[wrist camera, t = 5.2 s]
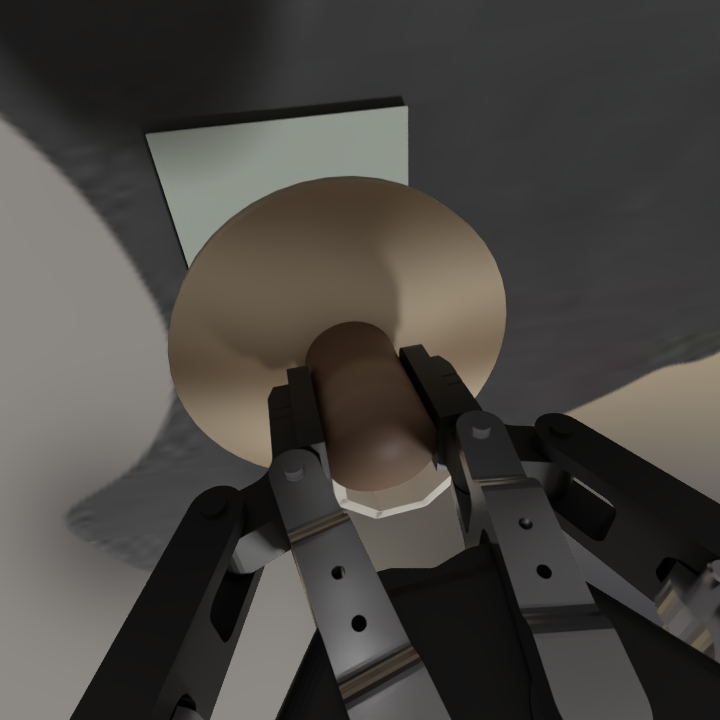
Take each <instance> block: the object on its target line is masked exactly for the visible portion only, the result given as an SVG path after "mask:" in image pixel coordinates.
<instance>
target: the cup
mask: <svg viewBox="0 0 720 720" xmlns="http://www.w3.org/2000/svg"><path fill="white" fill-rule="evenodd" d="M331 482H332V488H333V492H334V495H335V497H336V499H337V501H338V503H339V505H340V507H343V508H346V509H349V510H352V511H355V512H358V513H361V514H364V515H367V516H370V517H373V518H376V519H378V518H382V517H386V516H389V515H393V514H397V513H401V512H405V511H409V510H412V509H417V508H420V507H424V506H427V505H428V504H429V503H430V502H431V501H432V500H434V499H435V498H436V497H437V496H438V495H439V494H440V493H442V492H443V491H444V490H445V489H446V488H447V487H448V486H450V484H451V475H450V473H449V471H448V469H447V470H443V471H439V472H437V471H436V469H435V467H434V464H433V462H432V460H431V461H430V462H429V463H428V465H427V466H426V467H425V468H424V469H423V470H422V471H421V472H419V473H418V474H417V475H416V476H414V477H413V478H411V479H410V480H408V481H406V482H404V483H402V484H400V485H397V486H395V487H392V488H388V489H385V490H379V491H367V492H364V491H355V490H351V489H348V488H345V487H343V486H341V485H339V484H338V483H336V482H335V481H334V480H333V479H332V478H331Z"/></svg>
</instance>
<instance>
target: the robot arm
mask: <svg viewBox="0 0 720 720" xmlns="http://www.w3.org/2000/svg"><path fill="white" fill-rule="evenodd" d="M399 358H400V360H401V362H402V364H403V366H404V368H405V370H406V372H407V374H408V376H409V378H410V379H411V381H412V383H413V385H414V387H415V389H416V391H417V393H418V395H419V397H420V399H421V400H422V402H423V404H424V406H425V408H426V410H427V412H428V414H429V416H430V418H431V420H432V421H433V423H434V425H435V427H436V430H437V434H436V452H435V454H434V456H433V458H432V459H431V460H432V462H433V464H434V467H435V469H436V471H437V472H439V471H443V470H447V469H448V471H449V473H450V475H451V484H450V486H451V491H452V495H453V499H454V503H455V508H456V512H457V516H458V520H459V524H460V528H461V532H462V536H463V540H464V546H465V550H464V551H462V552H461V553H459V554H457V555H455V556H454V557H452V558H450V559H449V560H447V561H446V562H444V563H442V564H440V565H439V566H437V567H434V568H390V569H386V570H382V571H379V572H376V571H375V568H374V566H373V564H372V562H371V560H370V558H369V556H368V554H367V552H366V550H365V547H364V545H363V543H362V541H361V539H360V537H359V535H358V533H357V531H356V529H355V527H354V525H353V523H352V521H351V519H350V517H349V515H348V514H347V513H345V514H344V513H343V511H342V509H341V507H340V505H339V503H338V501H337V499H336V497H335V495H334V492H333V488H332V482H331V476H330V470H329V464H328V458H327V452H326V446H325V441H324V436H323V432H322V427H321V423H320V418H319V413H318V409H317V404H316V400H315V395H314V391H313V386H312V382H311V377H310V373H309V368H308V365H305V366H300V367H294V368H289V369H286V371H287V378H288V384H287V385H282V386H277V387H273V388H272V390H271V392H270V395H269V397H268V411H269V421H270V422H269V424H270V436H271V448H272V463H271V464H270V467H269V470H268V471H267V473H266V474H265V475H264V476H263V477H262V478H261V479H259V480H258V481H257V482H255V483H253V484H252V485H250V486H248V487H246V488H244V489H242V490H240V491H238V490H237V489H235V488H233V487H230V486H217V487H213V488H210V489H208V490H206V491H204V492H203V493H201V494H200V495H199V496H198V497H196V498H195V500H194V501H193V502H192V504H191V505H190V507H189V508H188V510H187V512H186V514H185V516H184V517H183V519H182V521H181V523H180V524H179V526H178V528H177V530H176V532H175V533H174V535H173V537H172V539H171V540H170V542H169V544H168V546H167V548H166V549H165V551H164V553H163V555H162V556H161V558H160V560H159V562H158V564H157V565H156V567H155V569H154V571H153V572H152V574H151V576H150V578H149V580H148V581H147V583H146V585H145V587H144V588H143V590H142V592H141V594H140V596H139V598H138V599H137V601H136V603H135V604H134V606H133V608H132V610H131V612H130V613H129V615H128V617H127V619H126V620H125V622H124V624H123V626H122V628H121V629H120V631H119V633H118V635H117V636H116V638H115V640H114V642H113V643H112V645H111V647H110V649H109V651H108V652H107V654H106V656H105V658H104V660H103V661H102V663H101V665H100V667H99V668H98V670H97V672H96V674H95V675H94V677H93V679H92V681H91V683H90V685H89V686H88V688H87V690H86V691H85V693H84V695H83V697H82V699H81V700H80V702H79V704H78V706H77V707H76V709H75V711H74V713H73V714H72V716H71V718H70V720H210V717H211V715H212V712H213V709H214V706H215V704H216V701H217V697H218V695H219V692H220V690H221V687H222V684H223V681H224V678H225V675H226V673H227V670H228V667H229V664H230V662H231V659H232V656H233V653H234V650H235V648H236V645H237V642H238V639H239V637H240V634H241V631H242V628H243V625H244V622H245V620H246V617H247V614H248V611H249V609H250V606H251V603H252V600H253V597H254V595H255V592H256V589H257V586H258V583H259V581H260V577H261V575H262V572H263V569H264V566H265V565H266V564H267V563H269V562H270V561H272V560H274V559H275V558H277V557H279V556H281V555H282V554H284V553H285V552H287V551H289V550H290V549H291V551H292V555H293V557H294V561H295V564H296V567H297V570H298V573H299V576H300V579H301V582H302V585H303V588H304V591H305V594H306V597H307V600H308V603H309V607H310V610H311V613H312V616H313V619H314V623H315V626H316V631H315V633H314V635H313V637H312V640H311V642H310V644H309V646H308V648H307V650H306V653H305V655H304V657H303V659H302V661H301V664H300V666H299V668H298V671H297V672H296V675H295V677H294V679H293V681H292V684H291V686H290V688H289V690H288V693H287V695H286V697H285V699H284V701H283V703H282V706H281V708H280V710H279V712H278V714H277V717H276V719H275V720H720V504H719V503H717V502H716V501H714V500H712V499H710V498H708V497H707V496H705V495H704V494H702V493H700V492H698V491H697V490H695V489H693V488H691V487H690V486H688V485H686V484H685V483H683V482H681V481H680V480H678V479H676V478H674V477H673V476H671V475H670V474H668V473H666V472H664V471H663V470H661V469H659V468H658V467H656V466H654V465H653V464H651V463H649V462H647V461H646V460H644V459H642V458H641V457H639V456H637V455H635V454H634V453H632V452H630V451H629V450H627V449H625V448H623V447H622V446H620V445H618V444H617V443H615V442H613V441H612V440H610V439H608V438H607V437H605V436H603V435H602V434H600V433H598V432H596V431H595V430H593V429H591V428H590V427H588V426H586V425H584V424H583V423H581V422H579V421H577V420H576V419H574V418H572V417H570V416H567V415H564V414H559V413H549V414H545V415H542V416H540V417H539V418H538V419H537V420H536V422H535V426H513V425H506V424H504V423H503V422H502V421H501V419H499V418H498V417H497V416H495V415H494V414H492V413H489V412H486V411H483V410H482V408H481V407H480V405H479V404H478V403H477V401H476V400H475V398H474V397H473V395H472V394H471V392H470V391H469V389H468V388H467V386H466V385H465V383H463V381H462V379H461V378H460V376H459V375H457V372H456V370H455V369H454V367H453V366H452V364H451V363H450V362H448V361H447V360H445V359H444V358H442V357H441V356H439V355H437V356H432V357H430V356H429V354H428V353H427V351H426V350H425V348H424V346H423V345H422V344H417V345H412V346H407V347H401V348H400V349H399ZM574 477H575V478H577V479H578V480H580V481H581V482H583V483H584V484H585V485H587V486H589V487H590V488H591V489H593V490H594V491H596V492H597V493H599V494H600V495H602V496H603V497H605V498H606V499H607V500H608V501H609V502H610V503H611V504H612V505H613V506H614V508H613V507H612V506H610V505H609V504H607V503H606V502H605V501H603V500H602V499H600V498H599V497H597V496H596V495H595V494H593V493H591V492H590V491H589V490H587V489H586V488H584V487H583V486H581V485H580V484H579V483H577V482H576V481H574V480H573V479H574ZM562 530H563V531H565V532H566V533H567V534H569V535H570V536H571V537H572V538H573V539H575V540H576V541H577V542H579V543H580V544H581V545H582V546H583V547H585V548H586V549H587V550H588V551H590V552H591V553H592V554H594V555H595V556H596V557H597V558H599V559H600V560H601V561H602V562H604V563H605V564H606V565H607V566H609V567H610V568H611V569H612V570H614V571H615V572H616V573H617V574H619V575H620V576H621V577H623V578H624V579H625V580H626V581H628V582H629V583H630V584H631V585H633V586H634V587H635V588H636V589H638V590H639V591H640V592H642V593H643V594H644V595H645V596H646V597H648V598H649V599H650V600H651V601H653V602H654V603H655V607H656V610H657V612H658V614H659V616H660V618H661V619H662V625H663V628H664V629H663V628H661V627H660V626H658V625H656V624H655V623H653V622H651V621H650V620H648V619H646V618H645V617H643V616H642V615H640V614H638V613H637V612H635V611H633V610H632V609H630V608H629V607H627V606H625V605H624V604H622V603H620V602H619V601H617V600H615V599H614V598H612V597H611V596H609V595H607V594H606V593H604V592H602V591H601V590H599V589H597V588H596V587H594V586H593V585H591V584H589V583H587V582H586V581H585V580H584V578H583V575H582V573H581V571H580V569H579V567H578V565H577V562H576V560H575V558H574V556H573V553H572V551H571V549H570V547H569V545H568V542H567V540H566V538H565V536H564V534H563V531H562Z"/></svg>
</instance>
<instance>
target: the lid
mask: <svg viewBox="0 0 720 720" xmlns="http://www.w3.org/2000/svg"><path fill="white" fill-rule="evenodd" d="M505 322H506V300H505V292H504V287H503V282H502V278H501V275H500V272H499V270H498V267H497V265H496V262H495V260H494V258H493V256H492V255H491V253H490V251H489V249H488V248H487V246H486V244H485V243H484V242H483V240H482V239H481V238H480V237H479V236H478V234H477V233H476V232H475V231H474V230H473V229H472V227H471V226H469V225H468V224H467V223H466V222H465V221H464V220H462V219H461V218H460V217H459V216H458V215H456V214H455V213H454V212H453V211H451V210H450V209H449V208H447V207H446V206H445V205H443V204H442V203H440V202H438V201H437V200H435V199H433V198H432V197H430V196H429V195H427V194H425V193H424V192H421V191H419V190H416V189H414V188H411V187H409V186H406V185H404V184H401V183H397V182H393V181H389V180H385V179H380V178H373V177H362V176H339V177H325V178H320V179H315V180H310V181H305V182H300V183H297V184H294V185H291V186H289V187H286V188H283V189H280V190H277V191H274V192H272V193H271V194H269V195H267V196H265V197H263V198H261V199H259V200H257V201H255V202H253V203H251V204H250V205H248V206H247V207H245V208H244V209H243V210H241V211H240V212H238V213H237V214H235V215H234V216H233V217H231V218H230V219H229V220H228V221H227V222H226V223H224V224H223V225H222V226H221V227H220V228H219V229H218V230H217V231H216V232H215V233H214V234H213V235H212V236H211V237H210V238H209V239H208V241H207V242H206V243H205V245H204V246H203V247H202V248H201V250H200V251H199V252H198V253H197V255H196V256H195V258H194V260H193V262H192V263H191V265H190V267H189V269H188V270H187V272H186V274H185V276H184V278H183V281H182V284H181V286H180V289H179V292H178V295H177V297H176V301H175V305H174V309H173V313H172V318H171V323H170V329H169V334H168V358H169V365H170V371H171V376H172V379H173V382H174V385H175V388H176V391H177V394H178V396H179V398H180V400H181V402H182V404H183V405H184V407H185V409H186V411H187V412H188V413H189V415H190V416H191V417H192V419H193V420H194V422H195V423H196V424H197V425H198V426H199V427H200V428H201V429H202V430H203V431H204V432H205V433H206V434H207V435H208V436H209V437H210V438H211V439H212V440H214V441H215V442H216V443H218V444H219V445H220V446H222V447H223V448H224V449H226V450H228V451H230V452H231V453H233V454H235V455H237V456H238V457H240V458H243V459H245V460H247V461H250V462H252V463H254V464H257V465H261V466H264V467H267V468H269V467H270V464H271V463H272V448H271V436H270V424H269V422H270V421H269V411H268V397H269V395H270V392H271V390H272V388H273V387H277V386H282V385H287V384H288V378H287V371H286V369H289V368H294V367H300V366H305V365H308V368H309V373H310V377H311V382H312V386H313V391H314V395H315V400H316V404H317V409H318V413H319V418H320V423H321V427H322V432H323V436H324V441H325V446H326V452H327V458H328V464H329V470H330V476H331V478H332V479H333V480H334V481H335V482H336V483H338V484H339V485H341V486H343V487H345V488H348V489H351V490H355V491H364V492H367V491H379V490H385V489H388V488H392V487H395V486H397V485H400V484H402V483H404V482H406V481H408V480H410V479H411V478H413V477H414V476H416V475H417V474H418V473H419V472H421V471H422V470H423V469H424V468H425V467H426V466H427V465H428V463H429V462H430V461H431V459H432V458H433V456H434V454H435V452H436V434H437V430H436V427H435V425H434V423H433V421H432V420H431V418H430V416H429V414H428V412H427V410H426V408H425V406H424V404H423V402H422V400H421V399H420V397H419V395H418V393H417V391H416V389H415V387H414V385H413V383H412V381H411V379H410V378H409V376H408V374H407V372H406V370H405V368H404V366H403V364H402V362H401V360H400V358H399V349H400V348H401V347H407V346H412V345H417V344H422V345H423V346H424V348H425V350H426V351H427V353H428V354H429V356H430V357H432V356H437V355H439V356H441V357H442V358H444V359H445V360H447V361H448V362H450V363H451V364H452V366H453V367H454V369H455V370H456V372H457V375H459V376H460V378H461V379H462V381H463V383H465V385H466V386H467V388H468V389H469V391H470V392H471V394H472V395H473V397H474V398H475V397H476V396H477V394H478V393H479V391H480V390H481V388H482V387H483V385H484V384H485V382H486V381H487V379H488V377H489V375H490V373H491V371H492V369H493V367H494V365H495V362H496V360H497V357H498V354H499V352H500V349H501V345H502V340H503V336H504V332H505Z"/></svg>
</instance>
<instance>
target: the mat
mask: <svg viewBox="0 0 720 720" xmlns="http://www.w3.org/2000/svg"><path fill="white" fill-rule="evenodd" d="M146 138H147V141H148V144H149V147H150V150H151V153H152V157H153V160H154V163H155V166H156V169H157V172H158V175H159V178H160V181H161V184H162V187H163V190H164V193H165V196H166V199H167V202H168V206H169V209H170V212H171V215H172V218H173V221H174V224H175V227H176V230H177V233H178V236H179V239H180V242H181V245H182V248H183V252H184V255H185V258H186V261H187V264H188V267H190V265H191V263H192V262H193V260H194V258H195V256H196V255H197V253H198V252H199V251H200V250H201V248H202V247H203V246H204V245H205V243H206V242H207V241H208V239H209V238H210V237H211V236H212V235H213V234H214V233H215V232H216V231H217V230H218V229H219V228H220V227H221V226H222V225H223V224H224V223H226V222H227V221H228V220H229V219H230V218H231V217H233V216H234V215H235V214H237V213H238V212H240V211H241V210H243V209H244V208H245V207H247V206H248V205H250V204H251V203H253V202H255V201H257V200H259V199H261V198H263V197H265V196H267V195H269V194H271V193H272V192H274V191H277V190H280V189H283V188H286V187H289V186H291V185H294V184H297V183H300V182H305V181H310V180H315V179H320V178H325V177H339V176H362V177H373V178H380V179H385V180H389V181H393V182H397V183H401V184H404V185H406V186H408V106H406V105H405V106H396V107H387V108H377V109H368V110H359V111H350V112H340V113H331V114H322V115H313V116H304V117H294V118H285V119H276V120H267V121H257V122H248V123H239V124H230V125H221V126H211V127H202V128H193V129H184V130H174V131H165V132H156V133H147V134H146Z"/></svg>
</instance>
